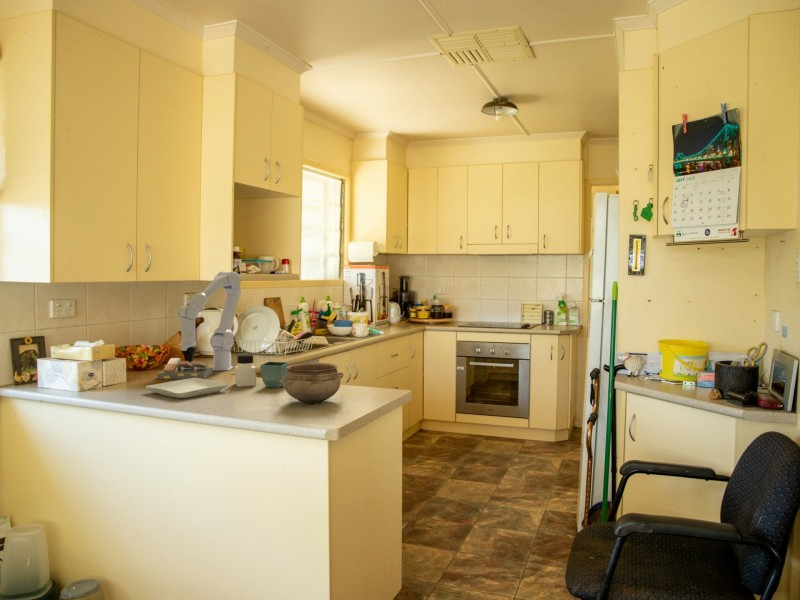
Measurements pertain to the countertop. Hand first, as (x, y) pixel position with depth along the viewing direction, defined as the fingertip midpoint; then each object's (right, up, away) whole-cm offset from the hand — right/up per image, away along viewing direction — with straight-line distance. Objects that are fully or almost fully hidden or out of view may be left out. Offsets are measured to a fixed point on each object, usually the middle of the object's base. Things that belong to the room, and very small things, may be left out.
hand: (189, 365), depth 267 cm
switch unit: (0, -4, -4) cm, 6 cm away
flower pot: (+42, -6, -27) cm, 51 cm away
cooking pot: (+61, -7, -55) cm, 82 cm away
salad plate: (+13, -7, -40) cm, 42 cm away
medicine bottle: (+30, -5, -24) cm, 39 cm away
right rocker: (+6, 0, -4) cm, 7 cm away
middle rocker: (0, 0, -4) cm, 4 cm away
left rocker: (-5, 0, -5) cm, 7 cm away
